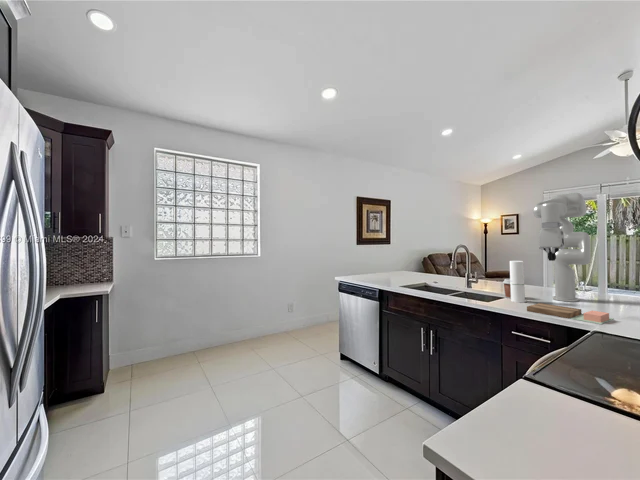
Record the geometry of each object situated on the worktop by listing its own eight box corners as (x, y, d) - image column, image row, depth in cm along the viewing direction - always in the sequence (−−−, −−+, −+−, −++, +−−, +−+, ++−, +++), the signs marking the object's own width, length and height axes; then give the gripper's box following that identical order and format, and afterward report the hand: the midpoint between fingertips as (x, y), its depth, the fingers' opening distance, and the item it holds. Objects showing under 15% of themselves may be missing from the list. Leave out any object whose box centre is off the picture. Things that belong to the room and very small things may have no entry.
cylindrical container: (520, 300, 178) (519, 260, 178) (527, 302, 171) (526, 261, 171) (508, 300, 178) (507, 260, 179) (515, 302, 171) (513, 261, 171)
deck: (540, 307, 158) (540, 303, 158) (581, 314, 142) (581, 309, 142) (526, 311, 151) (526, 306, 151) (568, 318, 135) (568, 313, 135)
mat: (583, 314, 142) (583, 313, 142) (613, 319, 132) (613, 318, 132) (570, 318, 135) (569, 318, 135) (600, 324, 125) (600, 323, 125)
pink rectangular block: (609, 313, 131) (609, 319, 131) (592, 310, 136) (592, 316, 136) (600, 315, 127) (600, 322, 127) (583, 313, 132) (583, 319, 132)
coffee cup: (500, 296, 191) (500, 278, 191) (515, 296, 189) (515, 278, 189) (506, 299, 182) (506, 280, 182) (522, 299, 180) (521, 280, 180)
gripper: (571, 225, 144) (572, 260, 144) (538, 226, 158) (539, 259, 158) (564, 225, 141) (566, 261, 141) (531, 227, 154) (532, 260, 154)
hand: (551, 260), depth 149 cm, fingers closed
